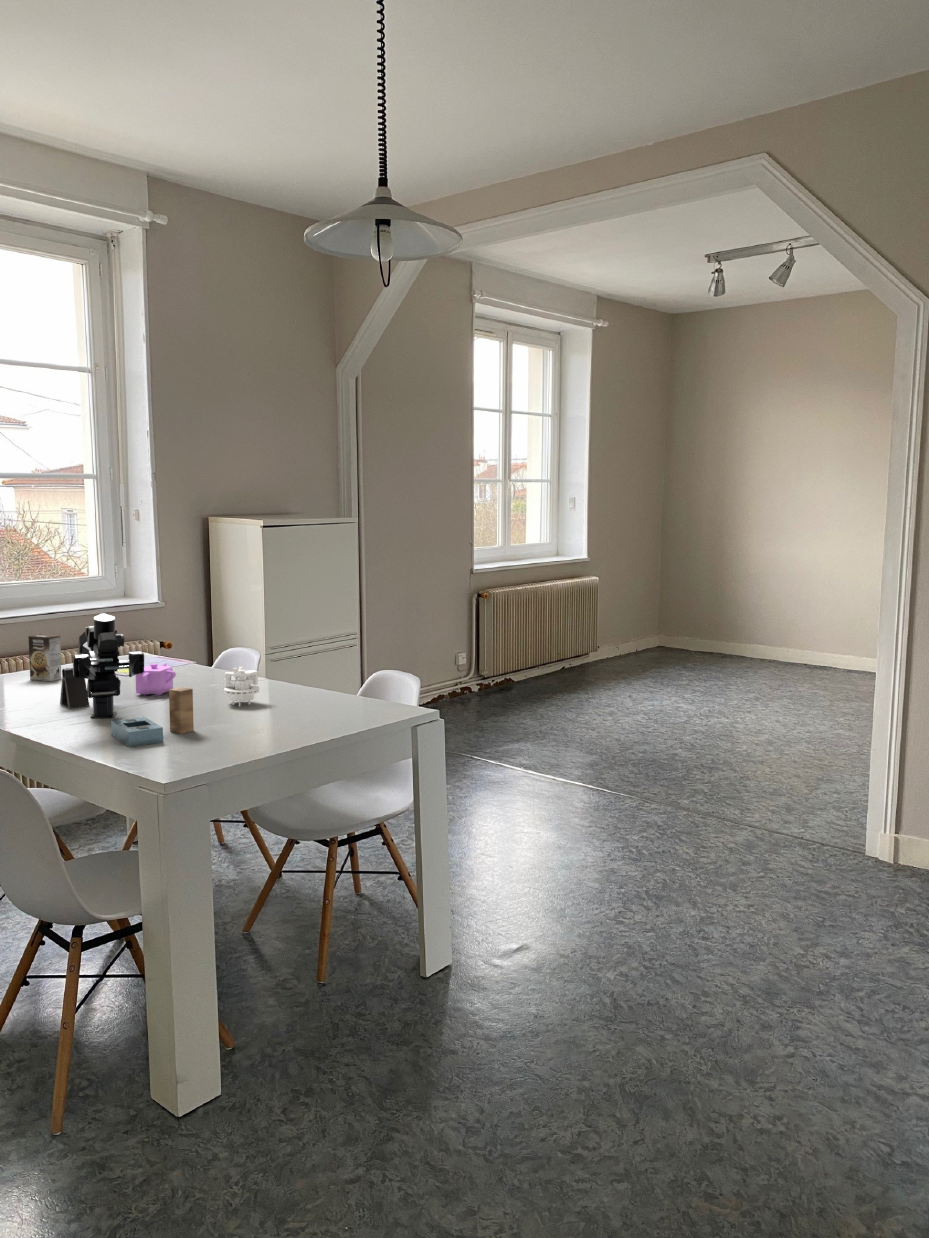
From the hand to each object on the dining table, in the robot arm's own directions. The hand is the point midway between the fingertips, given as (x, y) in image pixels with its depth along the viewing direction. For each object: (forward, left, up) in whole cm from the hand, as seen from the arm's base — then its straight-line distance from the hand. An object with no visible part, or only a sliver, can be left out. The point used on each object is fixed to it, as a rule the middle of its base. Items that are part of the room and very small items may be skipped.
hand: (113, 676), depth 254 cm
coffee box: (-91, -39, -16) cm, 101 cm away
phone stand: (-42, -19, -16) cm, 49 cm away
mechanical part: (-36, +33, -16) cm, 52 cm away
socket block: (+6, +7, -16) cm, 18 cm away
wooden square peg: (-1, +18, -16) cm, 24 cm away
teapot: (-59, +4, -16) cm, 62 cm away
